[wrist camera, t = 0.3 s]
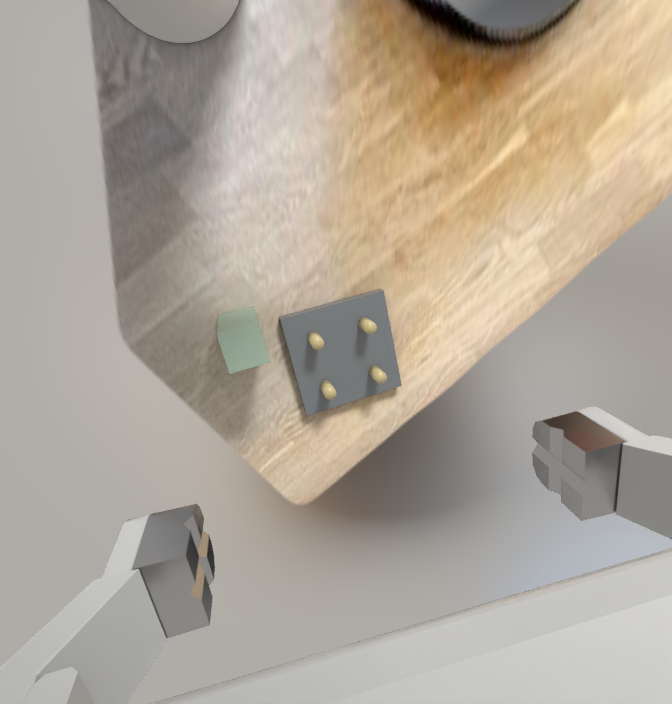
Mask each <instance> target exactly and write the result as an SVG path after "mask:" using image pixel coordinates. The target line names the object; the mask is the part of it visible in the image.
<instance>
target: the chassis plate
mask: <svg viewBox="0 0 672 704" xmlns="http://www.w3.org/2000/svg"><path fill="white" fill-rule="evenodd" d="M279 319H280V323H281V326H282V330H283V333H284V337H285V341H286V344H287V348H288V352H289V355H290V359H291V362H292V366H293V370H294V373H295V377H296V380H297V384H298V388H299V391H300V395H301V398H302V402H303V406H304V409H305V412H306V415H307V416H308V415H312V414H315V413H318V412H321V411H324V410H327V409H330V408H334V407H337V406H340V405H343V404H346V403H349V402H353V401H356V400H359V399H362V398H365V397H368V396H371V395H375V394H378V393H381V392H384V391H387V390H390V389H394V388H397V387H400V386H401V380H400V375H399V370H398V364H397V359H396V354H395V349H394V343H393V338H392V333H391V327H390V322H389V317H388V312H387V306H386V301H385V296H384V291H383V290H381V289H378V290H374V291H371V292H367V293H364V294H360V295H356V296H353V297H349V298H346V299H342V300H338V301H335V302H331V303H328V304H324V305H320V306H317V307H313V308H310V309H306V310H302V311H299V312H295V313H292V314H288V315H284V316H281V317H279Z"/></svg>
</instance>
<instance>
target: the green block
mask: <svg viewBox="0 0 672 704" xmlns="http://www.w3.org/2000/svg"><path fill="white" fill-rule="evenodd" d="M217 338H218V341H219V344H220V347H221V350H222V353H223V356H224V359H225V362H226V365H227V368H228V371H229V374H232V373H235V372H238V371H242V370H245V369H249V368H252V367H255V366H259V365H262V364H266V363H269V362H270V360H269V356H268V353H267V349H266V346H265V343H264V339H263V336H262V333H261V329H260V326H259V322H258V319H257V316H256V313H255V310H254V307H253V306H251V307H248V308H244V309H240V310H237V311H233V312H229V313H226V314H222V315H218V323H217Z"/></svg>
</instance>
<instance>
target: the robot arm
mask: <svg viewBox="0 0 672 704" xmlns="http://www.w3.org/2000/svg"><path fill="white" fill-rule="evenodd" d="M107 1H108V2H109V3H110V4H112V5H113V6H114V7H115V8H116V9H117V10H118V11H119V12H120V13H121V14H122V15H123V16H124V17H125V18H126V19H127V20H128V21H129V22H130V23H132V24H133V25H134V26H135V27H137V28H138V29H140V30H141V31H143V32H145V33H147V34H149V35H150V36H153V37H155V38H158V39H160V40H164V41H168V42H173V43H191V42H197V41H200V40H203V39H206V38H208V37H210V36H212V35H213V34H215V33H216V32H218V31H219V30H220V29H221V28H222V27H224V25H225V24H226V23H227V22H228V21H229V20H230V18H231V17H232V15H233V13H234V12H235V10H236V7H237V5H238V3H239V0H107ZM533 438H534V439H535V440H536V441H537V443H538V445H537V446H536V448H535V449H534V451H533V453H532V456H533V466H534V469H535V472H536V475H537V477H538V478H539V480H540V481H541V483H542V484H543V485H544V486H545V487H546V488H547V489H548V490H550V491H553V492H556V493H559V494H561V502H562V503H563V504H564V505H565V506H566V507H567V508H568V509H569V510H571V512H573V513H574V514H575V515H576V516H577V517H578V518H579V519H580V520H581V521H582V520H587V519H591V518H594V517H599V516H603V515H606V514H611V513H615V512H616V514H617V515H619V516H621V517H624V518H626V519H628V520H630V521H632V522H635V523H637V524H639V525H641V526H644V527H646V528H648V529H650V530H652V531H655V532H657V533H659V534H661V535H663V536H666V537H668V538H670V539H672V439H670V438H665V437H660V436H655V435H654V436H650V437H648V436H646V435H645V434H643V433H641V432H639V431H637V430H636V429H634V428H633V427H631V426H629V425H627V424H626V423H624V422H622V421H620V420H618V419H617V418H615V417H613V416H612V415H610V414H608V413H606V412H605V411H603V410H601V409H599V408H597V407H588V408H584V409H581V410H577V411H574V412H572V413H568V414H564V415H560V416H556V417H552V418H549V419H545V420H541V421H537V422H535V424H534V427H533ZM203 523H204V517H203V515H202V512H201V509H200V507H199V506H198V505H197V504H194V505H190V506H186V507H181V508H176V509H172V510H167V511H163V512H158V513H153V514H151V515H145V516H141V517H137V518H133V519H128V520H127V521H126V522H124V524H123V526H122V528H121V531H120V533H119V536H118V538H117V541H116V543H115V546H114V549H113V551H112V554H111V556H110V559H109V561H108V564H107V566H106V569H105V571H104V574H103V577H102V578H100V579H97V580H94V581H93V582H92V583H91V584H90V585H89V586H88V587H87V588H85V589H84V590H83V591H82V592H81V593H80V594H79V595H78V596H77V597H76V598H75V599H74V600H72V602H70V603H69V604H68V605H67V606H66V607H65V608H64V609H63V610H62V611H61V612H60V613H59V614H57V615H56V616H55V617H54V618H53V619H52V620H51V621H50V622H49V623H48V624H47V625H46V626H45V627H43V628H42V629H41V630H40V631H39V632H38V633H37V634H36V635H35V636H34V637H33V638H32V639H31V640H30V641H28V643H26V644H25V645H24V646H23V647H22V648H21V649H20V650H19V651H18V652H17V653H16V654H15V655H13V656H12V657H11V658H10V659H9V660H8V661H7V662H6V663H5V664H4V665H3V666H2V667H1V668H0V704H127V703H128V702H129V700H130V698H131V697H132V695H133V694H134V692H135V691H136V689H137V687H138V686H139V684H140V683H141V681H142V680H143V678H144V676H145V675H146V673H147V672H148V670H149V669H150V667H151V665H152V664H153V662H154V661H155V659H156V658H157V656H158V654H159V653H160V651H161V650H162V648H163V647H164V645H165V643H166V642H167V638H169V637H173V636H176V635H179V634H182V633H186V632H189V631H192V630H195V629H199V628H202V627H205V626H208V625H210V617H211V607H212V594H211V591H210V588H209V585H210V584H211V583H212V581H213V580H214V572H215V565H214V553H213V548H212V543H211V540H210V536H209V534H207V533H205V532H204V531H203ZM151 704H672V548H670V549H667V550H663V551H660V552H657V553H653V554H650V555H647V556H643V557H640V558H637V559H633V560H630V561H626V562H623V563H620V564H616V565H613V566H609V567H606V568H603V569H599V570H596V571H592V572H590V573H586V574H582V575H579V576H576V577H572V578H569V579H566V580H562V581H559V582H555V583H552V584H549V585H545V586H542V587H538V588H535V589H532V590H528V591H525V592H522V593H518V594H515V595H512V596H509V597H505V598H502V599H498V600H495V601H492V602H488V603H485V604H482V605H478V606H475V607H472V608H468V609H465V610H462V611H458V612H455V613H452V614H449V615H445V616H442V617H438V618H435V619H432V620H429V621H425V622H422V623H418V624H415V625H412V626H408V627H405V628H402V629H398V630H395V631H392V632H388V633H385V634H382V635H378V636H375V637H372V638H368V639H365V640H362V641H358V642H355V643H352V644H348V645H345V646H341V647H338V648H335V649H332V650H328V651H325V652H321V653H318V654H315V655H311V656H308V657H305V658H301V659H298V660H295V661H291V662H288V663H285V664H281V665H278V666H275V667H271V668H268V669H265V670H261V671H258V672H255V673H252V674H248V675H244V676H241V677H238V678H235V679H232V680H228V681H224V682H221V683H218V684H214V685H211V686H208V687H204V688H201V689H198V690H194V691H191V692H188V693H184V694H181V695H178V696H174V697H171V698H168V699H164V700H161V701H157V702H154V703H151Z"/></svg>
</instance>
